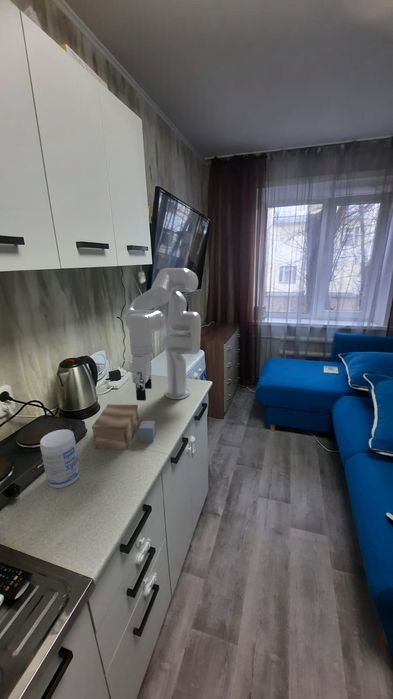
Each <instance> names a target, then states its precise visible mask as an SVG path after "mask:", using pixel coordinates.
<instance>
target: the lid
mask: <svg viewBox="0 0 393 699" xmlns="http://www.w3.org/2000/svg"><path fill="white" fill-rule="evenodd" d="M138 407H139V406H138V404H121V403H120V404H113V403H112V404H110V403H109V404H107V405H106V406H105V408H104V409H103V410H102V412H101V413H100V414H99V416H98V417H97V419H96V420H95V422H93V424H92V426H91V429H92V430H93V429H121V430H126V429H127V427H128V425H129V423H130V421H131V419H132V417H133V415H134V414H135V412H136V410H137V411H138Z"/></svg>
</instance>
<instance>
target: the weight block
mask: <svg viewBox="0 0 393 699" xmlns="http://www.w3.org/2000/svg"><path fill="white" fill-rule="evenodd" d="M138 430H139V443H140V442H141V443H154V441H155V438H156V433H157V431H156V420H142V421H141V422H140V424H139V426H138Z"/></svg>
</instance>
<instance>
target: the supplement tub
mask: <svg viewBox="0 0 393 699" xmlns="http://www.w3.org/2000/svg"><path fill="white" fill-rule="evenodd" d="M74 434H75V433H74V432H73V430H70V429H58V430H53V431H51V432H49V433H47V434H45V435H43V437H42V438H41V439H40V441H39V444H40V445H39V448H40V451H41V452H40V453H41V458H42V463H43V469H44V472H45V473H44V474H45V476H46V481H47V484H48V485H49V487H51V488H55V489H59V488H60V489H61V488H64V487H68V486H70V485H72V484H73V483H75V482H76V481H77V480H78V479H79V477H80V474H81V470H80V469H81V468H80V463H79V457H78V456H79V455H78V449H77V443H76V438H75V435H74Z"/></svg>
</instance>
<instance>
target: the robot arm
mask: <svg viewBox="0 0 393 699" xmlns="http://www.w3.org/2000/svg"><path fill="white" fill-rule="evenodd" d="M198 286H199V278H198V276H197V274H196V273H195V272H193V271H192V270H190V269H188V268H185V267H166V268H162V269H160V270H159V271H158V273H157V275H156V277H155V279H154V281H153V283H152V285H151V287H150V289H148V290H147V291H145V292H143V293H142V294H140V295H139V296H137V297H135V298H134V299H133V300H132V301H131V303H130V305H129V307H128V309H127V310H126V314H125V318H124V321H125V325H126V327H127V328H128V331H129V332H128V333H129V345H130V346H129V349H130V354H131V356H132V359H131V369H132V371H131V372H132V383H133V384H135V395H136V401H140V402H141V401H143V402H144V401H146V400H147V395H146V394H147V392H146V390H151V389H152V384H153V383H152V358H151V355H152V354H153V334H152V333H153V332H158V331H160V330H162V329H163V328H164V327H165V323H166V317H165V314H164V313H163V312H162V311H161V310H156V309H154V308H158V307H161V306H163V305H166V304H167V303H168V309H167V310H168V311H167V312H168V315H167V325H168V328H169V330H171V331H174V332H189V334H187V333H186V334H183V333H170V334H167V335H165V337H164V339H163V347H164V351H165V355H166V356H165V357H166V372H167V373H166V374H167V376H166V377H167V390H165V391H164V394H165V398H167V399H172V400H182V399H186V398H188V397H189V396H190V394H191V393H190V389H189V388H188V387H187V386H188V384H187V362H186V358H185V356H184V355H197V354H198V353H199V352H200V349H201V333H202V317H201V316H200V313H199V312H197V311H187V300H186V297H185V296H184V294H183V292H186V293H193V292H196V291H197V289H198Z"/></svg>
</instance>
